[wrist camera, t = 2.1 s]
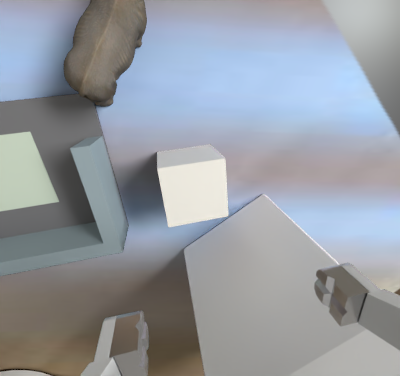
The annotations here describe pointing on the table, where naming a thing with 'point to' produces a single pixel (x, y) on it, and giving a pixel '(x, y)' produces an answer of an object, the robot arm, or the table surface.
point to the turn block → (193, 184)
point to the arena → (56, 185)
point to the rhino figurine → (104, 47)
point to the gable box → (272, 303)
